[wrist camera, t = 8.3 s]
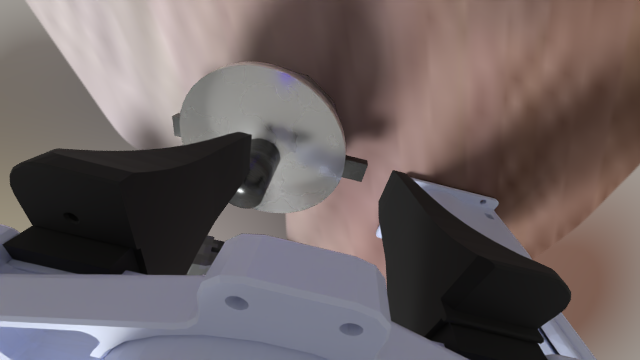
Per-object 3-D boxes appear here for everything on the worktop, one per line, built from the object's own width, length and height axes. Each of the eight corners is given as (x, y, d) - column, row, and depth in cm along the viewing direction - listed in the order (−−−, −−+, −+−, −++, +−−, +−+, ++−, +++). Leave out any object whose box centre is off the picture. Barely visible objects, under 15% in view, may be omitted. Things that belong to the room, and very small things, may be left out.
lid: (362, 73, 15) (363, 112, 10) (334, 206, 22) (327, 265, 17) (177, 44, 15) (95, 69, 10) (210, 185, 22) (170, 237, 18)
